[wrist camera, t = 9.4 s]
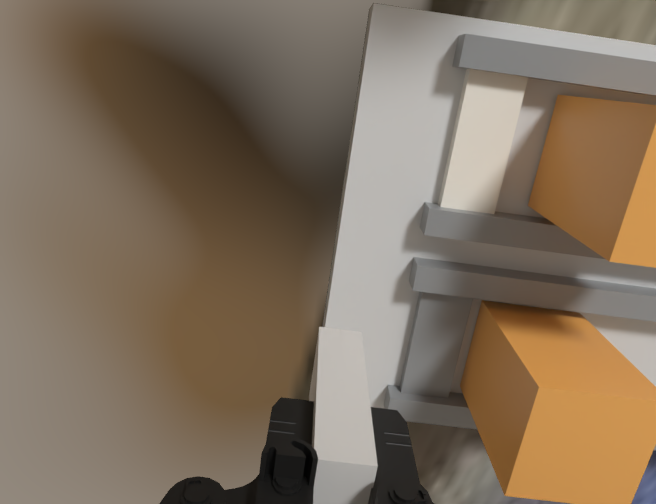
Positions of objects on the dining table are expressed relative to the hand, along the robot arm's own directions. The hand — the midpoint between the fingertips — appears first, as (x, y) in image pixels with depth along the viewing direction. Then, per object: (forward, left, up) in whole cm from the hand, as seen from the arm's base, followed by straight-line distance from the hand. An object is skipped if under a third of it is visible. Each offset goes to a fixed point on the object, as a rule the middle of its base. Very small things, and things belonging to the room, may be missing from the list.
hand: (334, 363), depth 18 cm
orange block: (-8, -8, -3) cm, 12 cm away
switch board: (-11, -4, -5) cm, 12 cm away
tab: (-8, 0, -3) cm, 8 cm away
